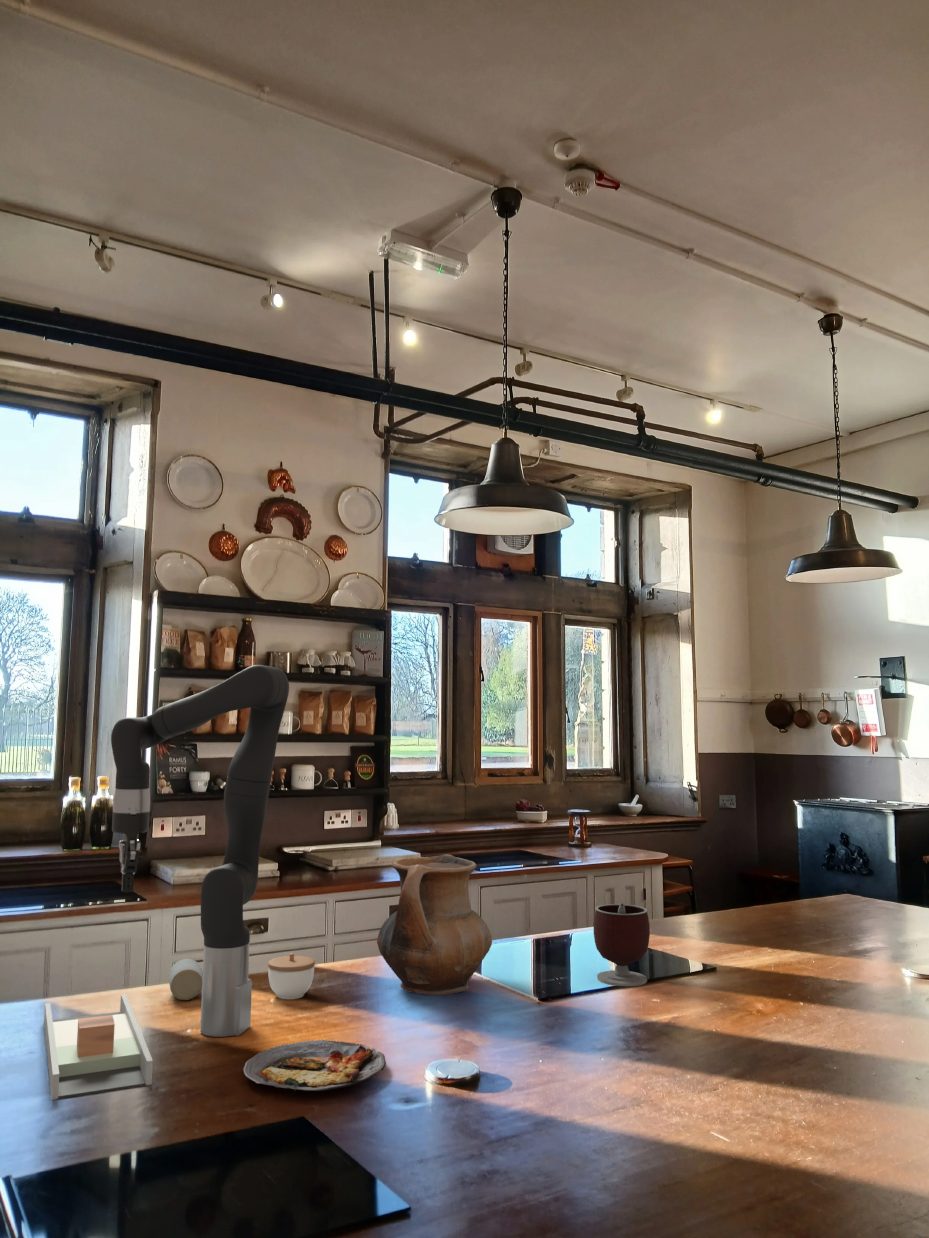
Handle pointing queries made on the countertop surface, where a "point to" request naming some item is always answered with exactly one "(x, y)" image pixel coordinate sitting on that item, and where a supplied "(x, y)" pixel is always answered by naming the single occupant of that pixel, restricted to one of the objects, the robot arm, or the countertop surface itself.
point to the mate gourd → (621, 941)
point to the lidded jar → (291, 975)
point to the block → (95, 1036)
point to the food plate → (315, 1065)
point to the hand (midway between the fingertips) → (127, 891)
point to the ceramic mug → (186, 979)
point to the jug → (434, 927)
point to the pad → (98, 1058)
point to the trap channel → (96, 1082)
